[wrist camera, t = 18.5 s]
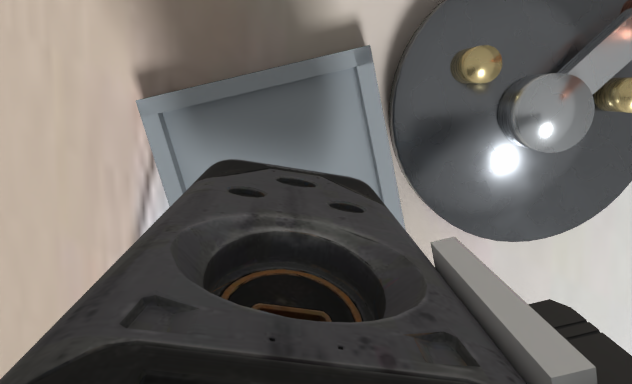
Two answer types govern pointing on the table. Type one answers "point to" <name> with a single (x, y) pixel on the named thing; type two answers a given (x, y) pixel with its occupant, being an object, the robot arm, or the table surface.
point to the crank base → (483, 125)
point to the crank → (565, 92)
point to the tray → (278, 124)
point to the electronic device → (269, 296)
